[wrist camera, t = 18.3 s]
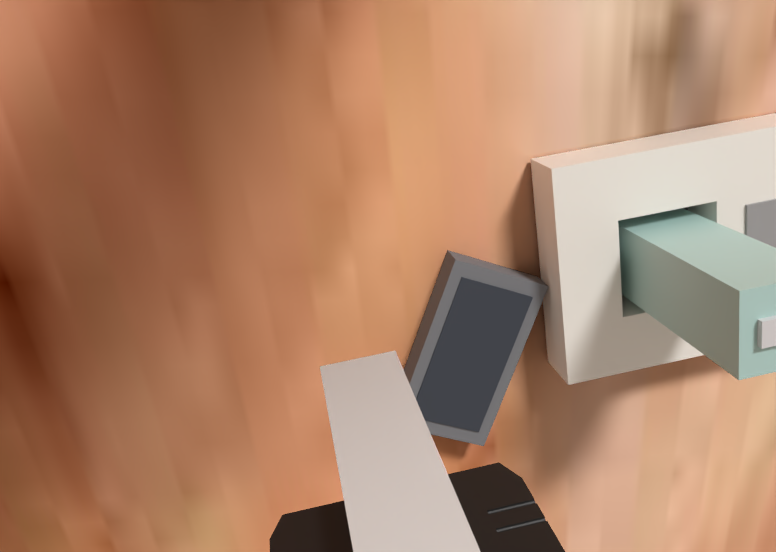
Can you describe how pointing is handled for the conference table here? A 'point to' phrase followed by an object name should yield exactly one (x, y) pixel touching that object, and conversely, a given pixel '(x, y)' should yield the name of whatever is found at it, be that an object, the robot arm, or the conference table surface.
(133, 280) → the conference table surface
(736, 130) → the outlet board
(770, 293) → the pale green block
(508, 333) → the phone
